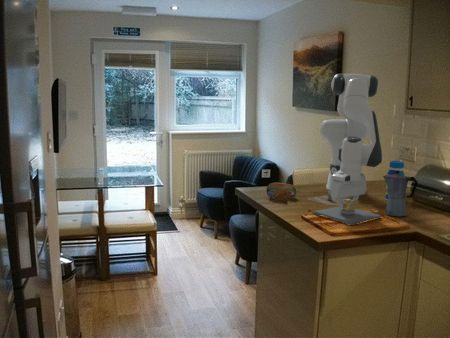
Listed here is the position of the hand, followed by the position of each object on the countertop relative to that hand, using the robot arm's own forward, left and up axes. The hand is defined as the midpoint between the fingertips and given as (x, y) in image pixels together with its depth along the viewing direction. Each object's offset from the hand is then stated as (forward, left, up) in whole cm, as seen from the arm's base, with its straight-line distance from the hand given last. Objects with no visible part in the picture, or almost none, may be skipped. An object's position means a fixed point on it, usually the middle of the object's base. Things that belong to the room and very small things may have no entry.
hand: (347, 206), depth 191 cm
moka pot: (-22, +10, -5) cm, 25 cm away
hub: (0, 0, -4) cm, 5 cm away
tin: (+3, -38, -5) cm, 38 cm away
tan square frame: (0, 0, -1) cm, 1 cm away
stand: (-12, -20, -4) cm, 24 cm away
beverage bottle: (-46, -7, -5) cm, 47 cm away
